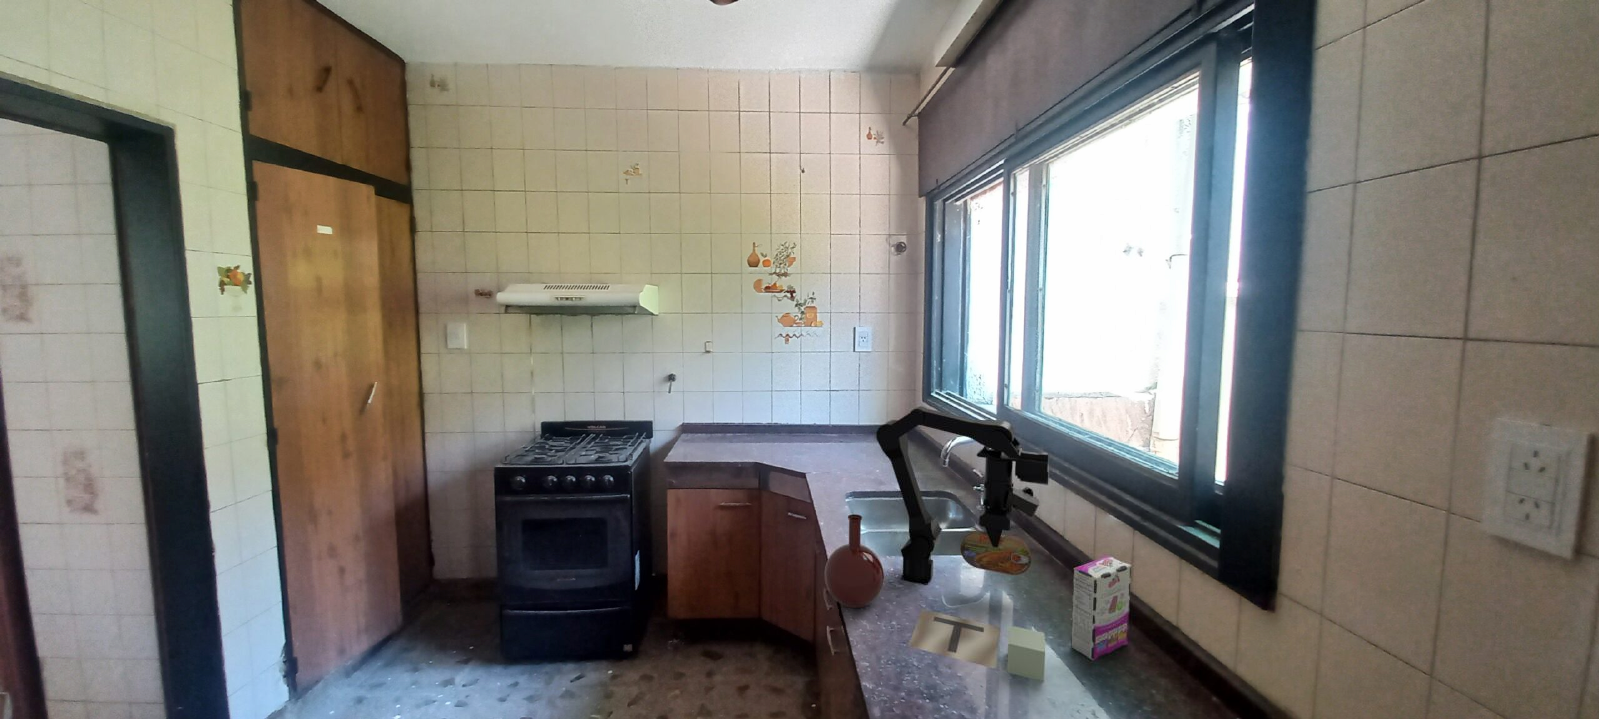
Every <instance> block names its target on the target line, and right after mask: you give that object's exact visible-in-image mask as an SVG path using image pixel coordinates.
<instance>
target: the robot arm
mask: <svg viewBox="0 0 1599 719" xmlns="http://www.w3.org/2000/svg"><path fill="white" fill-rule="evenodd" d="M918 426H923V427H926V428H930V429H934V430H938V431H942V432H946V433H950V434H954V435H959V436H961V437H966V438H970V439H971V440H973V441H975V442H976V443H978V444H980V445H982V446H983V447H982V448H981V449H980V450H978V452H977V453H976V456H977V458H984V459H985V464H984V465H985V467H984V468H985V469H984V470H985V471H984V482H983V488H984V489H983V490H984V492H983V495H984V496H983V501H982V503H983V504H982V506H983V510H981V511H980V514H979V518H978V519H979V520H978V522H979V523H978V526H980V527H982V528H984V530H985V532H987V534H988V536H989V539H990V541H991V544H992V546H993V547H996V548H997V547H998V545H999V541H1000V538H1001V534H1002V533H1003V531H1010V530H1011V526H1012V524H1011V523H1012V512H1013V509H1015V510H1017V511H1020V513H1023V514H1025V515H1026V516H1028V517H1030V518H1033V517H1035V514H1036V512H1037V510H1038V508H1039V506H1040V500H1039V498H1038V497H1037V496H1035V495H1034V489H1033V488H1031V487H1029V486H1026V487H1024V488H1022V489H1020V488H1019V489H1017V488H1015V487H1014V482H1013V467H1014V466H1015V467H1014V469H1015V470H1014V476H1015V477H1017V479H1019V481H1020V482H1023V483H1031V484H1037V485H1045V486H1048V485H1049V481H1050V480H1049V479H1050V465H1049V462H1050V459H1049V457H1050V454H1049V452H1040V451H1039V452H1037V451H1036V452H1035V451H1028V450H1027V451H1026V450H1024V447H1023V446H1022V444H1021V443H1020V441H1019V440H1018V439H1017V438H1016V432H1015V429H1014V427H1013V425H1012V424H1011V423H1009V422H1008V421H1005V420H999V419H998V420H997V419H972V418H967V417H964V416H959V415H956V414H951V413H947V412H943V411H939V410H934V409H930V408H927V407H925V406H917V407H915V408H914V409H912V410H910V412H909V413H907V414H905V415H904V416H902V417H901V418H900V419H891V420H889V421H886V422H885V423H883V424H882V425H880V426H879V427H878V429H877V430H876V432H875V438H876V441H877V443H878V445H879V447H880V449H881V450H882V452H883V453H884V455H885V456H886V457H887V458H888V460H889V461H890V463H891V467H892V469H893V472H894V475H895V479H896V482H897V485H898V487H899V492H900V494H901V496H902V500H903V503H904V507H905V509H906V513H907V515H908V533H909V534H908V536H909V538H908V539H907V541H906V542H905V544H904V545H903V547H902V548H901V549H900V553H901V556H902V574H901V576H900V580H901V581H906V582H910V583H915V584H919V585H924V586H928V585H929V582H930V581H931V580H932V579H933V576H934V560H933V559H932V552H933V551H934V550H935V548H936V546H937V545H938V543H939V542H940V539H941V536H942V535H941V532H942V531H943V529H942V527H941V526H940V524H939V518H938V516H937V514H934V515H931V514H930V512H928V510H927V508H926V505H925V503H924V502H925V501H924V498H923V496H922V493H921V490H920V486H919V484H918V481H917V477H916V474H915V472H914V469H913V466H912V463H911V459H910V457H909V438H908V433H909V432H910V431H912V430H913V429H916V428H917V427H918ZM1014 462H1015V465H1014ZM1013 465H1014V466H1013Z"/></svg>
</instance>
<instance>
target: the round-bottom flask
mask: <svg viewBox="0 0 1599 719" xmlns="http://www.w3.org/2000/svg"><path fill="white" fill-rule="evenodd" d="M847 519H848V543H847V544H844V545H841V546H839V547H838V548H837V549H835V550H833V552H832V553H831V554H830V556H829V557H828V559H827V561H826V564H825V568H824V581H825V585H826V588H827V590H828V593H829V594H830V596H831V597H832V598H833V600H835V601H836V602H837V603H839V604H841V605H843V606H845V607H848V608H852V609H856V608H857V609H858V608H863V607H867V606H868V605H870V604H871V603H873V602H874V601H875V600H876V599H877V598H878V596H879V595H880V593H881V592H882V590H883V586H884V582H885V573H884V567H883V564H882V563H881V560H880V559H879V557H878V555H877V554H876V553H875V552H874V551H873V550H871V549H870V548H869V547H867V546H865V545H862V544H861V541H862V540H861V537H862V536H861V534H862V533H861V531H862V528H861V526H862V525H861V524H862V520H863V516H862V515H860V514H854V513H853V514H849V515H848V516H847Z"/></svg>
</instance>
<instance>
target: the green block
mask: <svg viewBox="0 0 1599 719" xmlns="http://www.w3.org/2000/svg"><path fill="white" fill-rule="evenodd" d="M1008 626H1009V627H1008V628H1009V629H1008V640H1007V641H1008V644H1007V645H1008V648H1007V666H1006V668H1007V671H1006V672H1007V673H1009V674H1013V675H1017V676H1020V677H1024V678H1030V679H1034V680H1037V681H1041V682H1044V681H1045V680H1044V679H1045V662H1046V658H1045V657H1046V645H1045V644H1046V643H1045V642H1046V641H1045V640H1046V639H1045V632H1042V631H1037V630H1033V629H1028V628H1023V627H1019V626H1015V625H1008Z"/></svg>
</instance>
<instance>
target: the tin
mask: <svg viewBox="0 0 1599 719" xmlns="http://www.w3.org/2000/svg"><path fill="white" fill-rule="evenodd" d="M960 553H961V556H962V558H963V559H964V561H965V562H966V563H967V564H968V565H970V566H971V567H973V568H975V569H980V570H986V571H990V572H996V573H1000V574H1006V575H1010V576H1011V575H1012V576H1018V575H1022V574H1024V573H1026V572H1027V571H1028V570H1029V569H1030V566H1031V564H1032V555H1031V550H1030V548H1029V546H1028V545H1027V543H1026V542H1025V541H1024V540H1022V539H1021V538H1020V537H1017V536H1014V535H1009V534H1004V533H1003V534H1001V538H1000V541H999V545H998V547H997V548H996V547H993V546H992V544H991V541H990V539H989V536H988V534H987V532H986V530H985V531H984V530H972V531H970V532H968V533H967V534H965V536H964V537H963V539H962V541H961V544H960Z"/></svg>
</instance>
